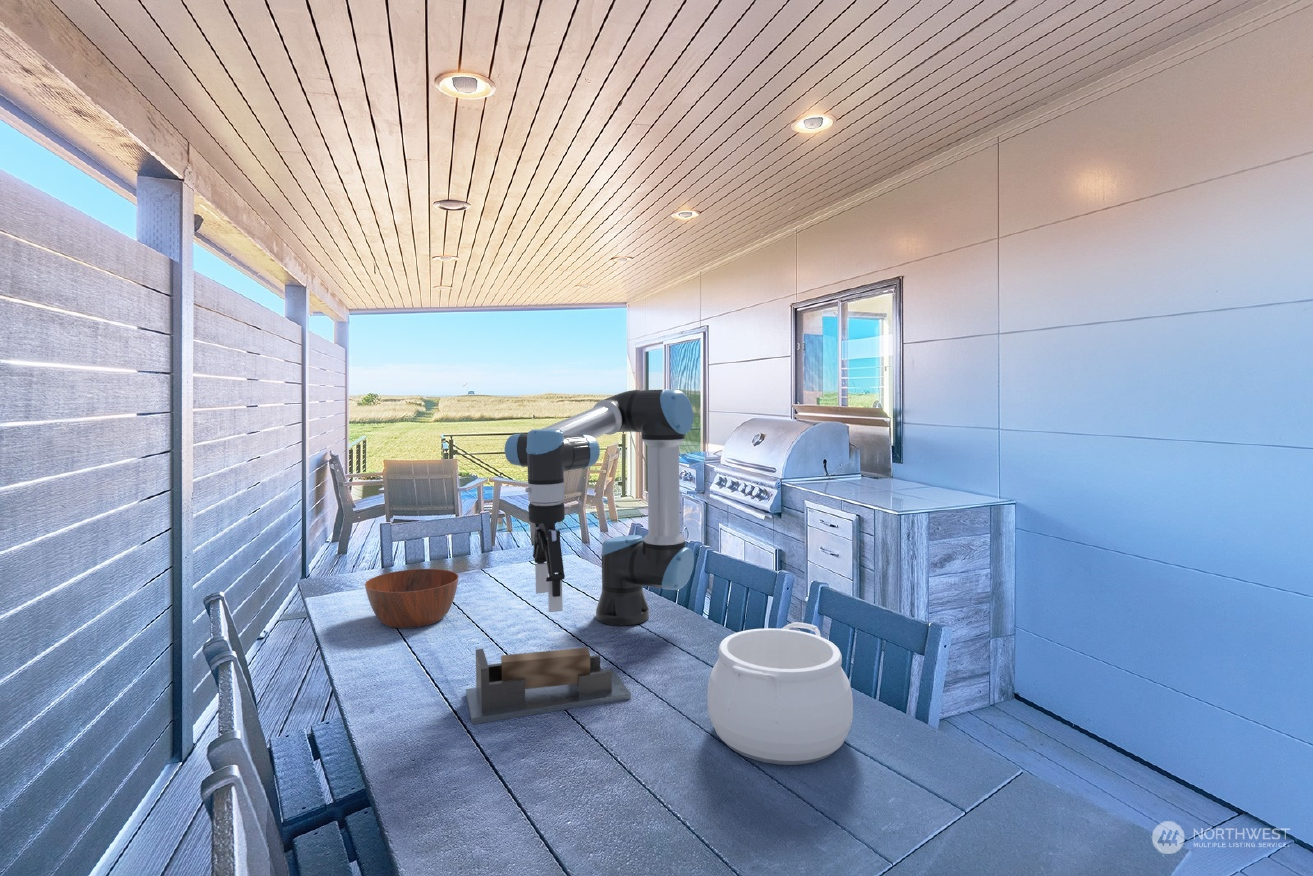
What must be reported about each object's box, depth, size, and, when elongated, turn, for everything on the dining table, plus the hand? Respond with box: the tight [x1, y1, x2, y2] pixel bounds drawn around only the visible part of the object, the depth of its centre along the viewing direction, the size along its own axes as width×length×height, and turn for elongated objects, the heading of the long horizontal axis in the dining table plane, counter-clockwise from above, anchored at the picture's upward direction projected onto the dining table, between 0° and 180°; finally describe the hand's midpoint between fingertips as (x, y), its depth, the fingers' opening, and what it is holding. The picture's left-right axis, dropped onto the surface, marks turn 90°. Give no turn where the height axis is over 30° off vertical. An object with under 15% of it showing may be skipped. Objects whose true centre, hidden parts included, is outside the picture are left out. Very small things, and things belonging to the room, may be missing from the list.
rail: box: [500, 647, 591, 689], centre depth 142 cm, size 18×4×6 cm, turn 104°
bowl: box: [364, 568, 460, 629], centre depth 192 cm, size 25×25×11 cm
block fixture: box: [465, 648, 632, 725], centre depth 142 cm, size 32×14×10 cm, turn 110°
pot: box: [706, 621, 854, 766], centre depth 125 cm, size 29×26×17 cm
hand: (548, 601), depth 144 cm, fingers open, 13 cm apart
